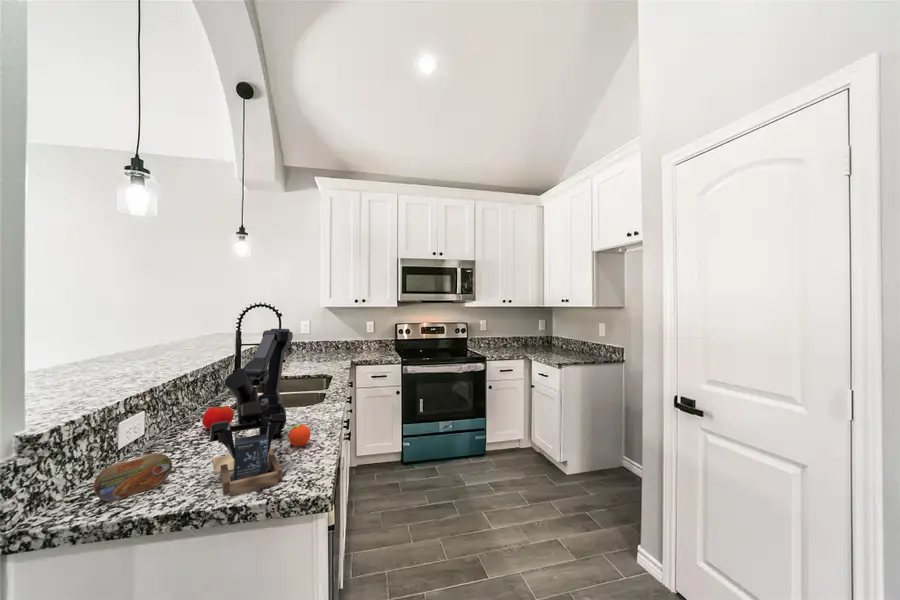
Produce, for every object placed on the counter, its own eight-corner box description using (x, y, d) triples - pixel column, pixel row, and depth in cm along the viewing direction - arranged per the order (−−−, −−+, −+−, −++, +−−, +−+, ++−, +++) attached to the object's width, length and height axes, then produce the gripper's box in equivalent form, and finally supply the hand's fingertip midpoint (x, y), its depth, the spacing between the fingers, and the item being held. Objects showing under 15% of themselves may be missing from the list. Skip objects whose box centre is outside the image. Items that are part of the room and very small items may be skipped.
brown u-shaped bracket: (273, 464, 107) (274, 454, 107) (283, 483, 96) (283, 471, 97) (220, 476, 100) (220, 465, 100) (223, 497, 89) (224, 485, 89)
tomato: (197, 429, 135) (197, 407, 135) (225, 422, 144) (226, 401, 144) (209, 434, 130) (210, 411, 130) (238, 426, 139) (239, 405, 139)
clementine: (284, 451, 117) (284, 429, 117) (285, 443, 124) (285, 422, 124) (310, 448, 120) (311, 426, 120) (310, 440, 126) (310, 420, 127)
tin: (95, 508, 83) (96, 471, 83) (90, 503, 85) (92, 467, 85) (172, 481, 96) (173, 450, 96) (167, 478, 98) (168, 447, 98)
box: (234, 485, 95) (235, 444, 95) (233, 476, 100) (234, 437, 100) (267, 477, 99) (268, 439, 99) (265, 469, 104) (266, 432, 104)
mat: (270, 447, 120) (270, 447, 120) (277, 461, 110) (277, 460, 110) (212, 459, 110) (212, 458, 110) (214, 474, 100) (214, 473, 100)
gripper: (212, 393, 98) (212, 448, 88) (286, 385, 108) (293, 433, 99) (209, 415, 104) (210, 468, 95) (280, 405, 115) (286, 452, 106)
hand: (251, 454), depth 98 cm, fingers closed on box, 8 cm apart
